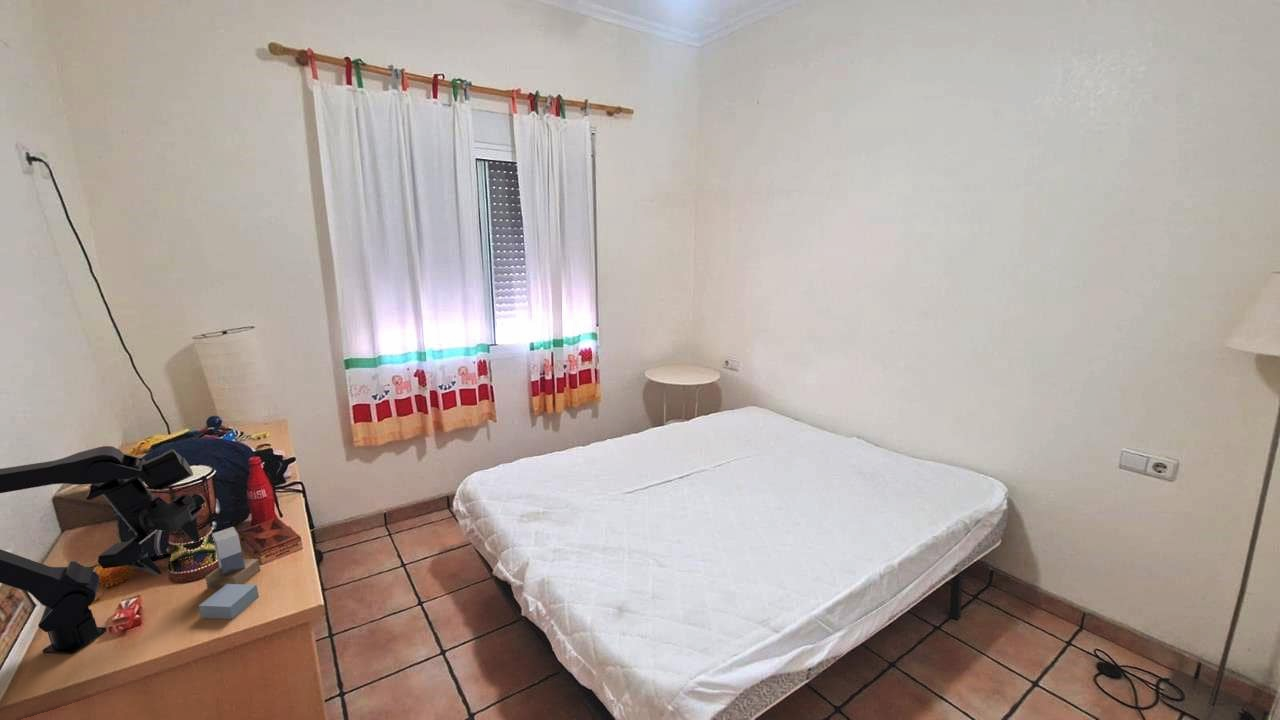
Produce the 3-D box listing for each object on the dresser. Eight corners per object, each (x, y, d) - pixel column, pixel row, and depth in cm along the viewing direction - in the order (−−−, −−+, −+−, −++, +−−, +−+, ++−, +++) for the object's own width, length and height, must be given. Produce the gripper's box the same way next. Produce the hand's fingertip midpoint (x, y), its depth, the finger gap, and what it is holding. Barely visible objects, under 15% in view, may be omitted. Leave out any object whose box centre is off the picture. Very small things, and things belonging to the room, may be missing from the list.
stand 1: (207, 588, 117) (205, 577, 116) (233, 569, 123) (230, 558, 123) (236, 589, 116) (234, 578, 116) (260, 570, 123) (258, 559, 122)
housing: (223, 576, 116) (216, 542, 114) (219, 567, 119) (212, 533, 117) (245, 568, 119) (238, 534, 117) (240, 559, 122) (233, 526, 120)
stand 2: (201, 617, 108) (198, 605, 107) (229, 595, 114) (226, 583, 114) (232, 618, 107) (230, 606, 106) (258, 596, 114) (256, 584, 113)
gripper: (119, 531, 94) (169, 589, 100) (205, 468, 110) (243, 522, 117) (72, 537, 95) (124, 594, 102) (164, 475, 112) (204, 527, 119)
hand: (179, 557), depth 110 cm, fingers open, 9 cm apart
